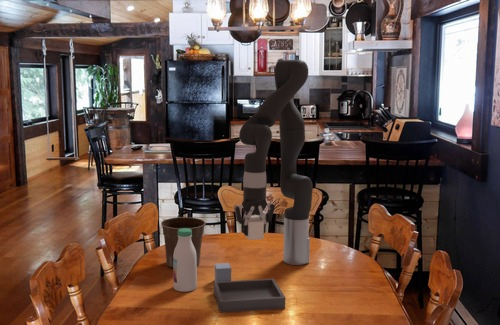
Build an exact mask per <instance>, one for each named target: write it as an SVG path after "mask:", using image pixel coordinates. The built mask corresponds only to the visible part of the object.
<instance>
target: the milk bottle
mask: <svg viewBox="0 0 500 325" xmlns="http://www.w3.org/2000/svg"><path fill="white" fill-rule="evenodd" d="M191 237H192V230H191V229H188V228H182V229H179V230H178V243H177V245H176V247H175V250H174V255H173V267H172V271H173V272H172V274H173V275H172V278H173V279H172V280H173V282H172V283H173V289H174V290H175V291H176V292H183V293H186V292H188V293H189V292H192V291H194V290H196V288H197V287H198V286H197V285H198V276H197V275H198V273H197V272H198V270H197V269H198V266H197V258H196V250H195V248H194V246H193V243H192V240H191Z"/></svg>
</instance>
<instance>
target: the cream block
mask: <svg viewBox="0 0 500 325" xmlns="http://www.w3.org/2000/svg"><path fill="white" fill-rule="evenodd" d="M247 225H248V236H245V235H244V237H245V238H246V239H247V240H249V241H254V240H255V241H256V240H264V238H265V237H264V235H265V233H264V221H263V220H261V219H260V218H259V217H251V218H250V219H249V221H248V224H247Z"/></svg>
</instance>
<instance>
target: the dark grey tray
mask: <svg viewBox="0 0 500 325" xmlns="http://www.w3.org/2000/svg"><path fill="white" fill-rule="evenodd" d="M213 295H214V296H215V300H216V304H217V307H218V311H219V313H221V314H223V313H224V314H225V313H236V312H237V313H239V312H254V311H255V312H256V311H266V310H284V309H286V297H285V295H284V293H283V291H282V289H281V288H280V286H279V284H278V283H277V281H276V280H275V278H261V279H259V278H258V279H244V280H243V279H242V280H231V281H222V282H215V281H214V282H213Z"/></svg>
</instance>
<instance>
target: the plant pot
mask: <svg viewBox="0 0 500 325" xmlns="http://www.w3.org/2000/svg"><path fill="white" fill-rule="evenodd" d="M160 225H161V228H162V234H163V237H164V247H165V250H164V251H165V259H166V260H165V262H166V266H167V267H169V268H173V255H174V250H175V247H176V245H177V243H178V230H179V229H182V228H188V229H191V230H192V237H191V240H192V243H193V246H194V248H195V250H196V258H197V267H199V265H200V262H201V261H200V260H201V251H202V250H201V249H202V241H203V235H204V233H205V232H204V231H205V230H204V229H205V226H206V221H205V220H203V219H201V218H197V217H192V216H191V217H188V216H181V217H180V216H179V217H178V216H177V217H176V216H175V217H170V218H166V219H163V220H162V221H161V222H160Z"/></svg>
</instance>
